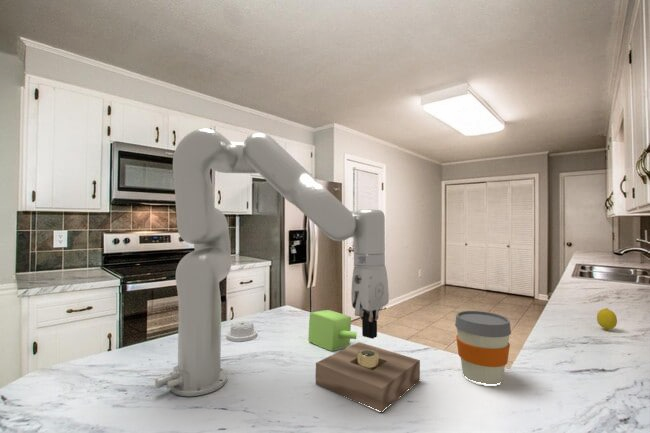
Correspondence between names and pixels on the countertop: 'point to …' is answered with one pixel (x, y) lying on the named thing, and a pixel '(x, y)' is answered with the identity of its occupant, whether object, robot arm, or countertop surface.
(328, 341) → the gearbox
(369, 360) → the bushing
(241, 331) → the mechanical component
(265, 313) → the countertop surface
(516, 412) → the countertop surface
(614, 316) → the lemon
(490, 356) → the reusable coffee cup
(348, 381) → the block
